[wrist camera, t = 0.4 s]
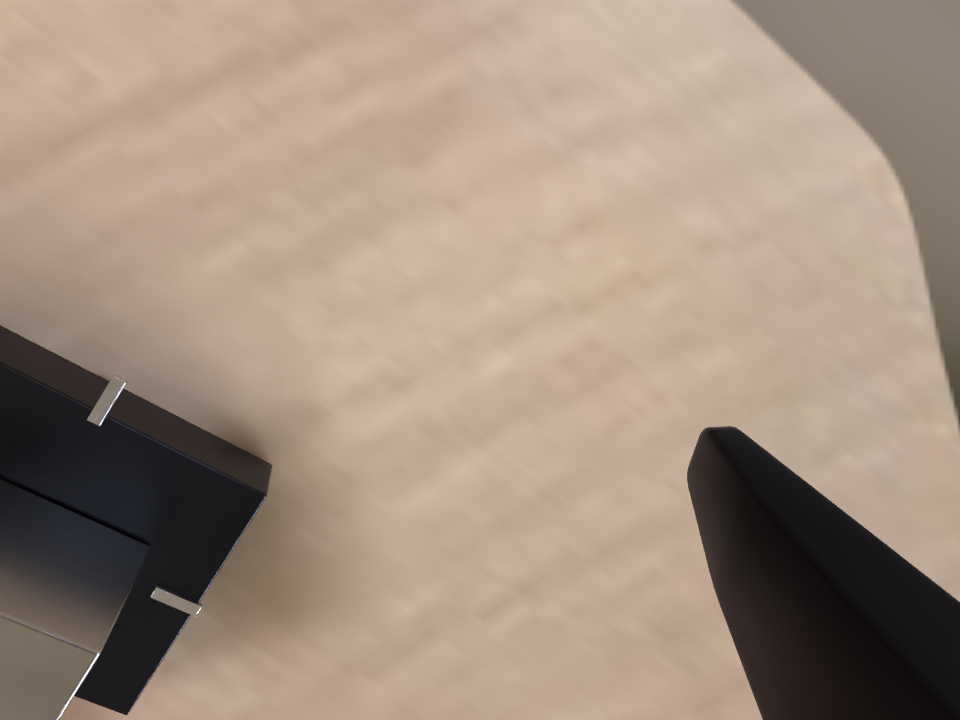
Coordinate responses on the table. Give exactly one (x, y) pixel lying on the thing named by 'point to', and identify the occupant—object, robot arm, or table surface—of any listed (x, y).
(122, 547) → the red-capped metal block
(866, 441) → the table surface
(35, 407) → the panel
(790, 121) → the table surface
